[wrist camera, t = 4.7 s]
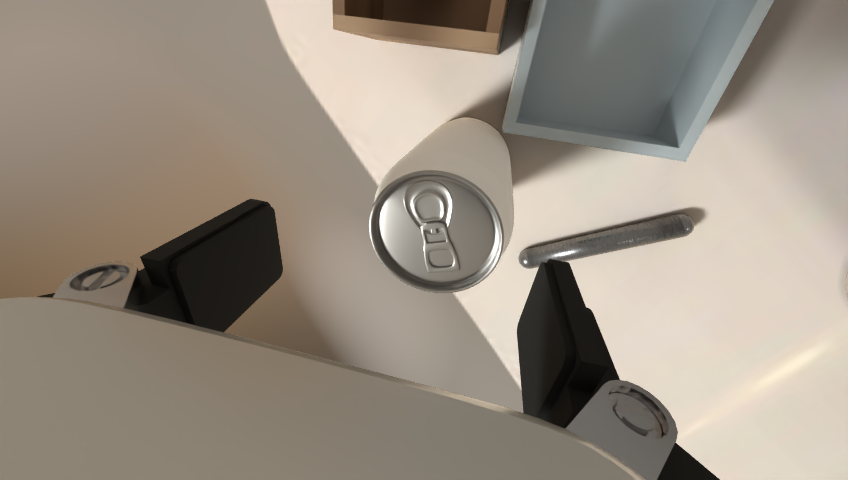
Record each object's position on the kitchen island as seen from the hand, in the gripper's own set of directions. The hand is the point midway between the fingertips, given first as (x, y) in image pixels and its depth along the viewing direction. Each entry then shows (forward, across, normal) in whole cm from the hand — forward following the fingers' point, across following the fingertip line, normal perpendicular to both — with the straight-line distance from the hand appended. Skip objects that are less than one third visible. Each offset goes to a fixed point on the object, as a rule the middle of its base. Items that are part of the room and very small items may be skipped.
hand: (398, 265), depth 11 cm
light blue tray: (+14, -8, -8) cm, 18 cm away
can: (+14, -1, 0) cm, 15 cm away
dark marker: (+14, -12, +4) cm, 19 cm away
